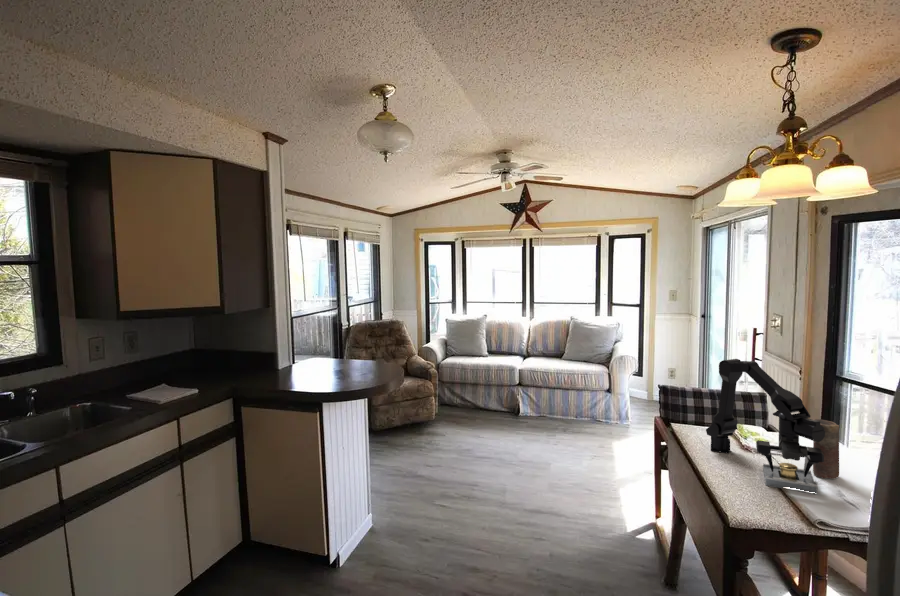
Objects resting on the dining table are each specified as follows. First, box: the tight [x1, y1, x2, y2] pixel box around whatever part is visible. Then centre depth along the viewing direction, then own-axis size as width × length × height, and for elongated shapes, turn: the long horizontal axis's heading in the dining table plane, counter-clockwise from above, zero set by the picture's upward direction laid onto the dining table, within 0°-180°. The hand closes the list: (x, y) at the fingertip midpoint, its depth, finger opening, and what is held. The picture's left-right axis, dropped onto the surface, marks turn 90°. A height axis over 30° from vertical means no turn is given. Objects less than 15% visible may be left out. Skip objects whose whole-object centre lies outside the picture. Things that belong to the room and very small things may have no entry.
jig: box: [762, 462, 818, 493], centre depth 159 cm, size 14×12×3 cm
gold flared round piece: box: [778, 462, 799, 480], centre depth 159 cm, size 5×5×6 cm
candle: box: [812, 418, 840, 480], centre depth 162 cm, size 8×7×20 cm
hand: (788, 473), depth 159 cm, fingers open, 9 cm apart
